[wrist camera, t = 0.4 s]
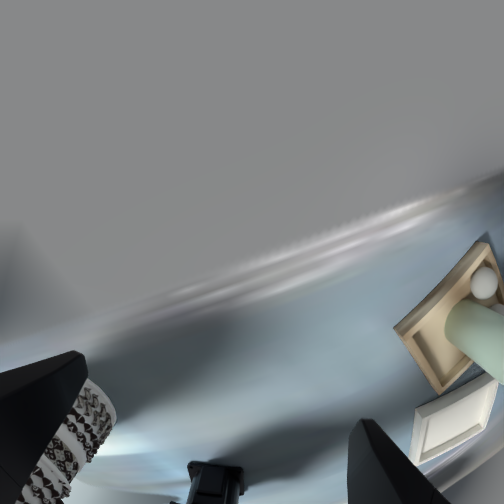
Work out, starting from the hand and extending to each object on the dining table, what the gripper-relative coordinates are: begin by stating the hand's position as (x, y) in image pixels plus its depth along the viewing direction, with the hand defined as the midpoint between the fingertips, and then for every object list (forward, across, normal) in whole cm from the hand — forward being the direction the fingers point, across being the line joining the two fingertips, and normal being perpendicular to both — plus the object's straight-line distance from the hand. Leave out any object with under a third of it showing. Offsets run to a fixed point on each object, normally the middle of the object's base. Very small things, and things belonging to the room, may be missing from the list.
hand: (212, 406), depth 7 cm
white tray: (+14, -27, +16) cm, 35 cm away
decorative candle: (+12, +16, +20) cm, 29 cm away
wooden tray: (+16, -20, +3) cm, 26 cm away
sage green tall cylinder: (+15, -20, +3) cm, 26 cm away
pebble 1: (+16, -21, -2) cm, 26 cm away
